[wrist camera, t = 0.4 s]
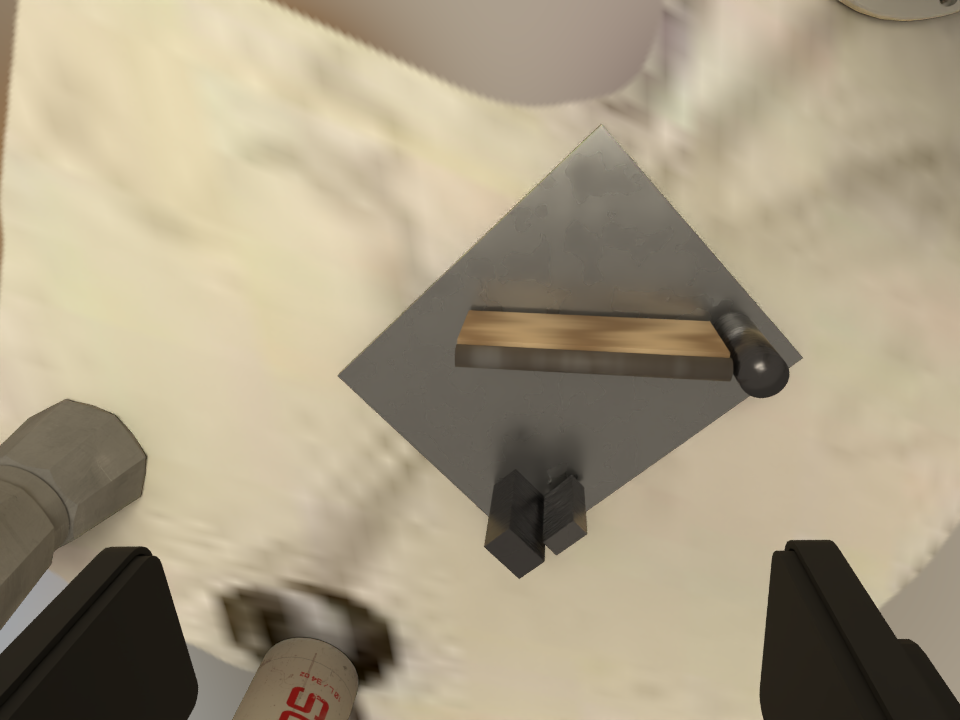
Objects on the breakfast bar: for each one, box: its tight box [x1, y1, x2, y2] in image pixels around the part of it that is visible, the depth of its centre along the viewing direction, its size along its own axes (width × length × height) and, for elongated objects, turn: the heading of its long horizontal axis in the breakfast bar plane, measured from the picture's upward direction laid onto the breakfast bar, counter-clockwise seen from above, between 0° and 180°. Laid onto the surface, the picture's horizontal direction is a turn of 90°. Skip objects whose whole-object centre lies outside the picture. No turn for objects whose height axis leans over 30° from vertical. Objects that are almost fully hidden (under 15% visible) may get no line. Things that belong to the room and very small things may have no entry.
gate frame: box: [338, 124, 803, 579], centre depth 39 cm, size 22×18×7 cm
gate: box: [455, 310, 733, 382], centre depth 37 cm, size 14×2×6 cm, turn 89°
